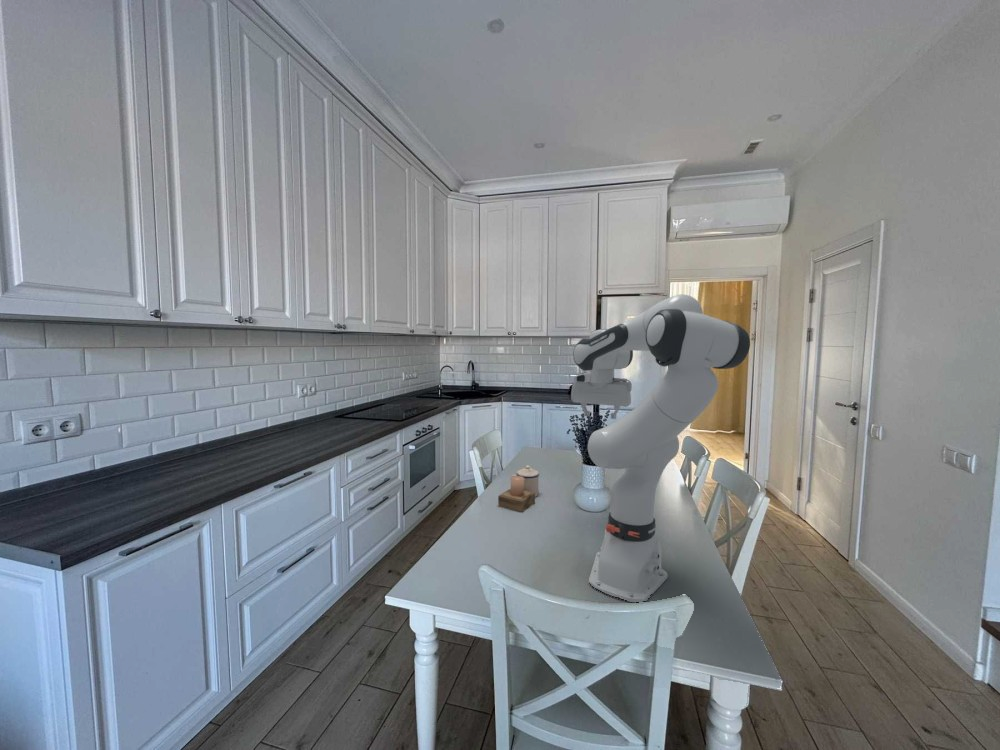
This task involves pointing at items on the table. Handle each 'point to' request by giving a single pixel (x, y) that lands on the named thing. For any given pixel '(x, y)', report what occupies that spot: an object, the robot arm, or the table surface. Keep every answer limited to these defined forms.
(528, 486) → the teacup with lid
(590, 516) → the table surface
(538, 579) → the table surface
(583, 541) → the table surface
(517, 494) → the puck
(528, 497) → the base
